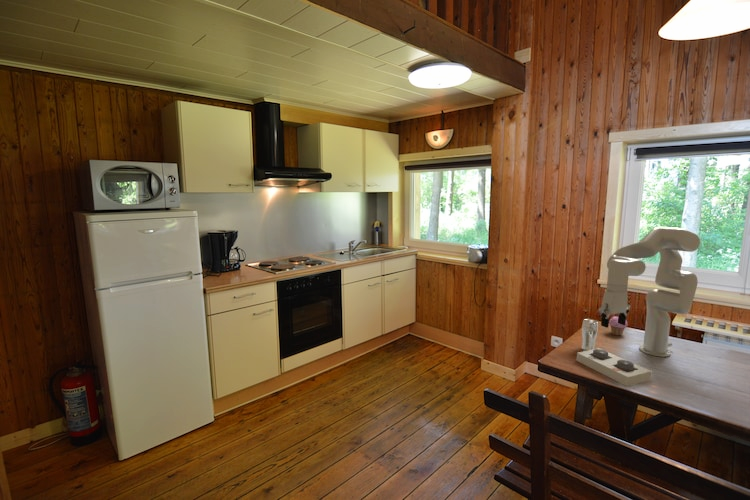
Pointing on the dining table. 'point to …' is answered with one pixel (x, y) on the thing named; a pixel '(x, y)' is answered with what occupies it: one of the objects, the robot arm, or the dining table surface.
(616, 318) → the cupcake
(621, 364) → the button marked
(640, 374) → the button board
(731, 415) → the dining table surface
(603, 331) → the dining table surface
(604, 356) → the button plain
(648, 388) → the dining table surface
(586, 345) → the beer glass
